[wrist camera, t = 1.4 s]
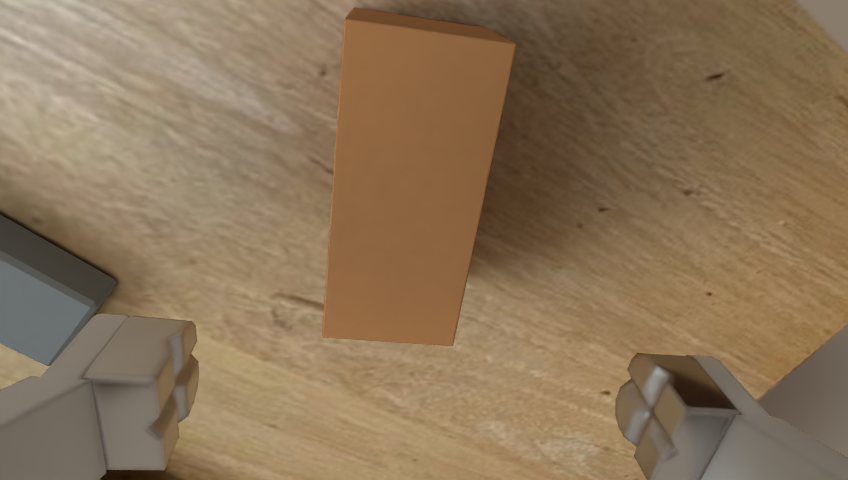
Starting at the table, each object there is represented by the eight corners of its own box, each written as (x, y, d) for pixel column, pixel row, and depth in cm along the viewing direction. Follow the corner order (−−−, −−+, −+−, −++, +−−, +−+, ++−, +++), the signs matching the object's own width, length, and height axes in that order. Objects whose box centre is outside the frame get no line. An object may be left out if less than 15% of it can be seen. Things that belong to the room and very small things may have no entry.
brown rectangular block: (353, 7, 17) (344, 17, 13) (486, 27, 18) (517, 43, 14) (332, 270, 21) (321, 337, 17) (440, 279, 22) (453, 347, 18)
